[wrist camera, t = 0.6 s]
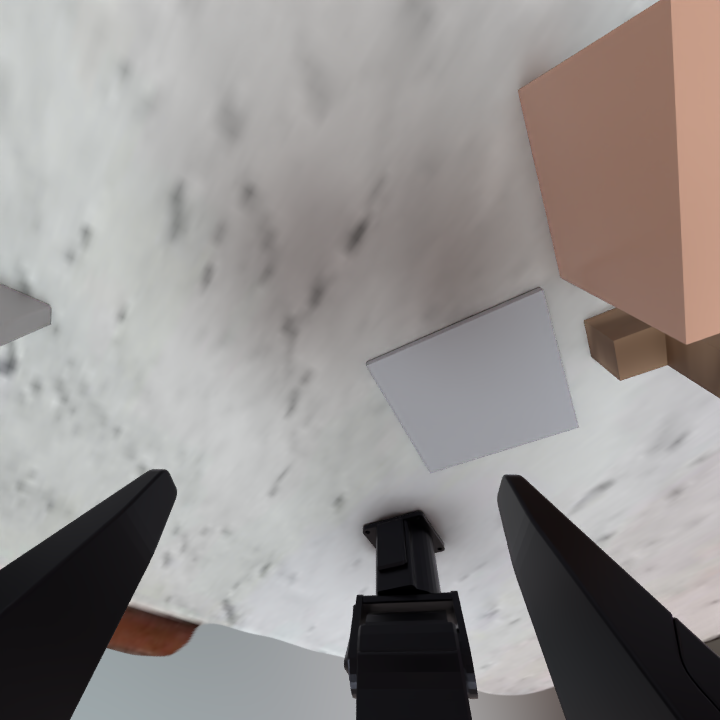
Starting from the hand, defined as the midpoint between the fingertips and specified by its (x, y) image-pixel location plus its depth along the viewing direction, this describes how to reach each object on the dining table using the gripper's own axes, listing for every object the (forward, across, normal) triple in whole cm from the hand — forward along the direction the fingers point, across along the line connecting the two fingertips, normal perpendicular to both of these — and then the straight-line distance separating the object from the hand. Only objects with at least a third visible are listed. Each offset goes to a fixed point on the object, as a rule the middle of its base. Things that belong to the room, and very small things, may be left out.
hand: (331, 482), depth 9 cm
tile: (+14, -11, -6) cm, 19 cm away
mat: (+14, -8, +7) cm, 18 cm away
